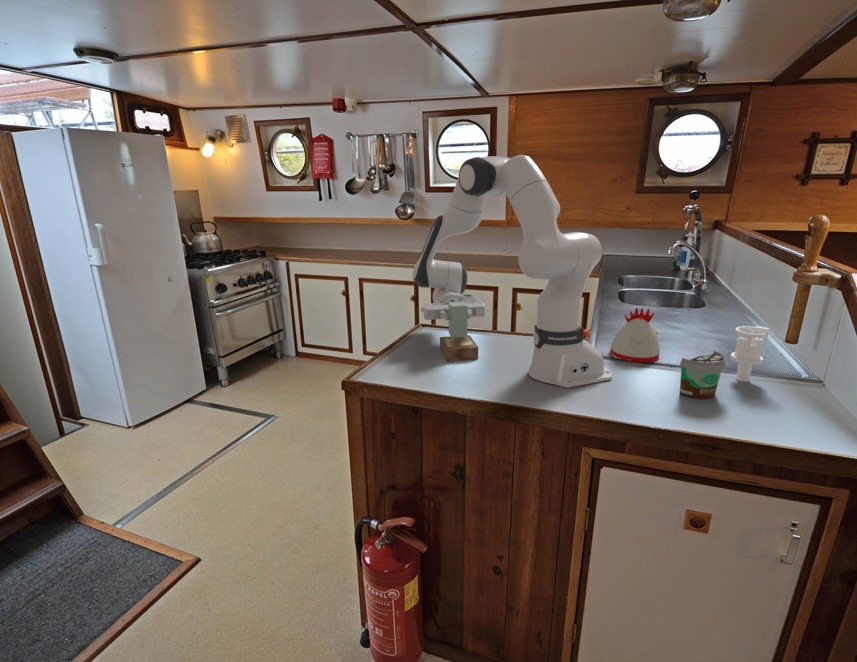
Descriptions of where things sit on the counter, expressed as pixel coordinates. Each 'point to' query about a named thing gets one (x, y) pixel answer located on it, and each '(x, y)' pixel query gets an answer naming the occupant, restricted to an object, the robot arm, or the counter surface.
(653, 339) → the kitchen timer
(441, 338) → the build plinth
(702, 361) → the food container
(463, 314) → the pillar block
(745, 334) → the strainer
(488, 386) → the counter surface
